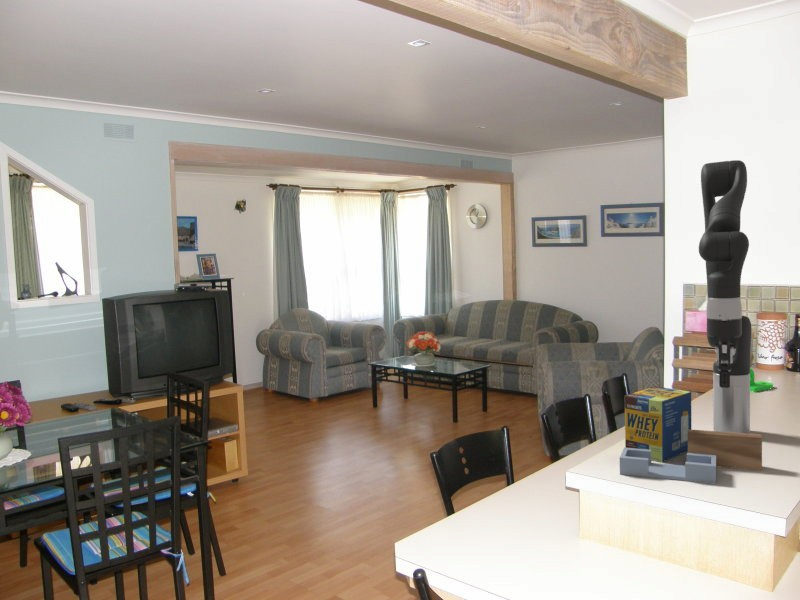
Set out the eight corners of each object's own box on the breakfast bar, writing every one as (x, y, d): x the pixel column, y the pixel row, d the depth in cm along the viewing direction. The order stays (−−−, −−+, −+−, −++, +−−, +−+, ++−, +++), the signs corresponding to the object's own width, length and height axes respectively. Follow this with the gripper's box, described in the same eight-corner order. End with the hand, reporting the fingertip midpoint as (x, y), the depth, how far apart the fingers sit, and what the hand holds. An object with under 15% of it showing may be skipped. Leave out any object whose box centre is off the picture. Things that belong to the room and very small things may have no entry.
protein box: (624, 454, 175) (623, 395, 174) (655, 441, 185) (655, 385, 184) (662, 463, 167) (661, 401, 166) (693, 449, 177) (692, 390, 176)
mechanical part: (754, 393, 237) (754, 371, 237) (739, 390, 243) (739, 368, 242) (776, 389, 243) (776, 367, 242) (761, 386, 248) (761, 365, 248)
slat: (688, 460, 168) (688, 429, 167) (761, 467, 161) (761, 434, 161) (687, 464, 165) (687, 432, 165) (761, 471, 158) (761, 437, 158)
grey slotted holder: (624, 463, 168) (624, 447, 167) (716, 472, 159) (716, 455, 159) (619, 474, 160) (619, 457, 160) (715, 483, 151) (715, 466, 151)
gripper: (707, 313, 169) (707, 377, 170) (706, 319, 156) (706, 389, 157) (740, 313, 165) (741, 378, 167) (742, 319, 152) (743, 390, 154)
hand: (724, 383), depth 162 cm, fingers open, 8 cm apart
